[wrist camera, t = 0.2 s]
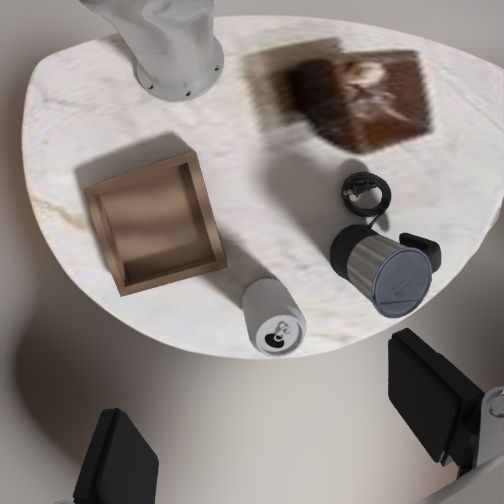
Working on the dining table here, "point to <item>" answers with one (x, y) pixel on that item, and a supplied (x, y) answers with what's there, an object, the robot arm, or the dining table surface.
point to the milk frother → (383, 256)
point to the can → (273, 318)
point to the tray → (156, 224)
